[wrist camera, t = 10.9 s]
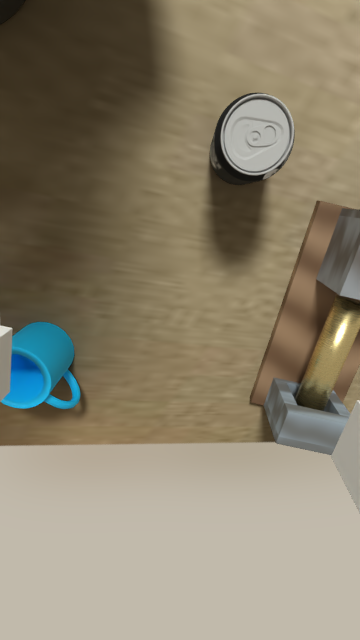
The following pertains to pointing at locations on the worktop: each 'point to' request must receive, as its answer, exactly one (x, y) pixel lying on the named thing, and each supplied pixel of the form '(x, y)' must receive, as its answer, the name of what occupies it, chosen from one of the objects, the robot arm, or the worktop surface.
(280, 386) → the rig
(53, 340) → the mug
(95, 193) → the worktop surface
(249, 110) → the beverage can
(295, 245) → the worktop surface
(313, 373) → the tube
